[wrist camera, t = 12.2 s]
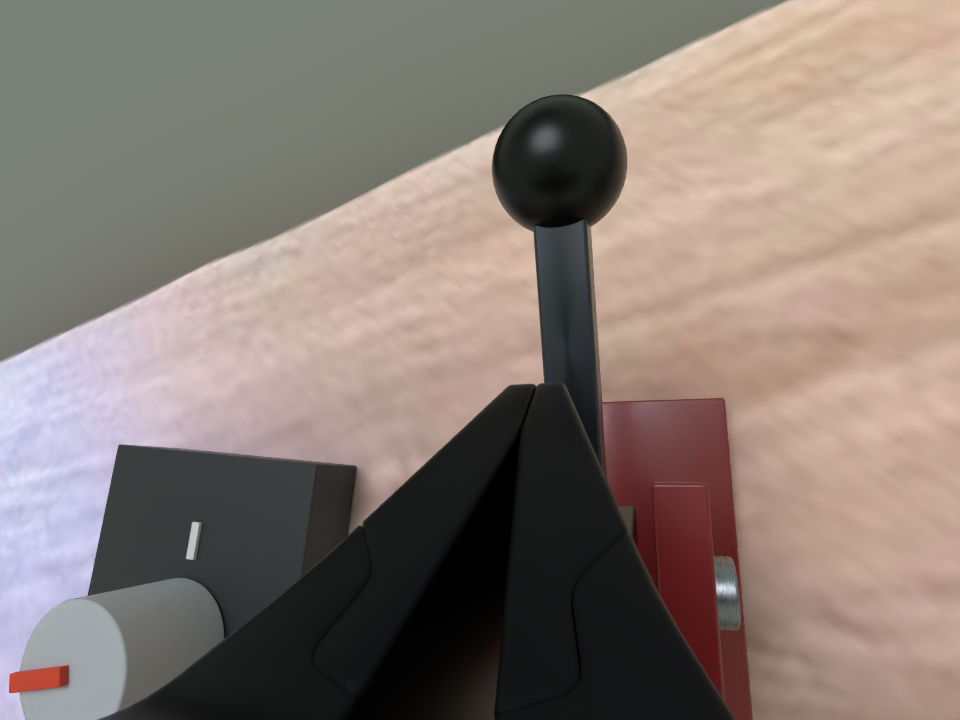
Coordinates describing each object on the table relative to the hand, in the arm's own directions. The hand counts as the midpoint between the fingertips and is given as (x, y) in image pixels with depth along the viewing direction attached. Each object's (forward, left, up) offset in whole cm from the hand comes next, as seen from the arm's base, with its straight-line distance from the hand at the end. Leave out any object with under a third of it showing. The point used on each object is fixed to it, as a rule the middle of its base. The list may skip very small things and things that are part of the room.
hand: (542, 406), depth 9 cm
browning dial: (-12, +13, -10) cm, 20 cm away
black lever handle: (+1, +1, -5) cm, 5 cm away
